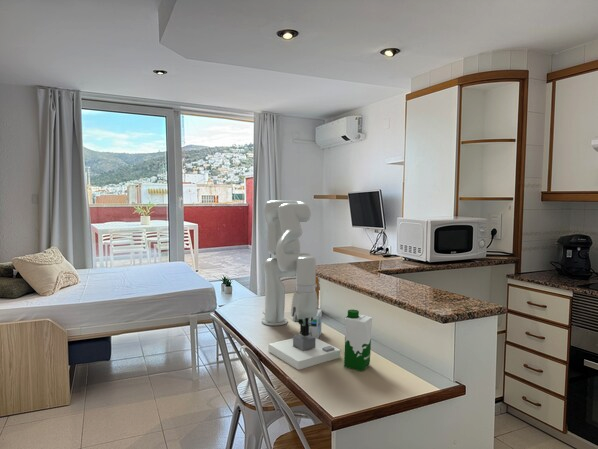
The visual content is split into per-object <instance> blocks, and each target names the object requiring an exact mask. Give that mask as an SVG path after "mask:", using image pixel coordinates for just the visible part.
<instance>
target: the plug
mask: <svg viewBox="0 0 598 449" xmlns="http://www.w3.org/2000/svg"><path fill="white" fill-rule="evenodd" d="M292 336H293V337H292V338H293V346H294V347H295V348H298V349H300V350H302V351H305V350H306V351H308V350H310V349H313V348H315V340H316V338H315V337H313V336H311V335H308V336H303V335H301V334H296V335H292Z"/></svg>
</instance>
